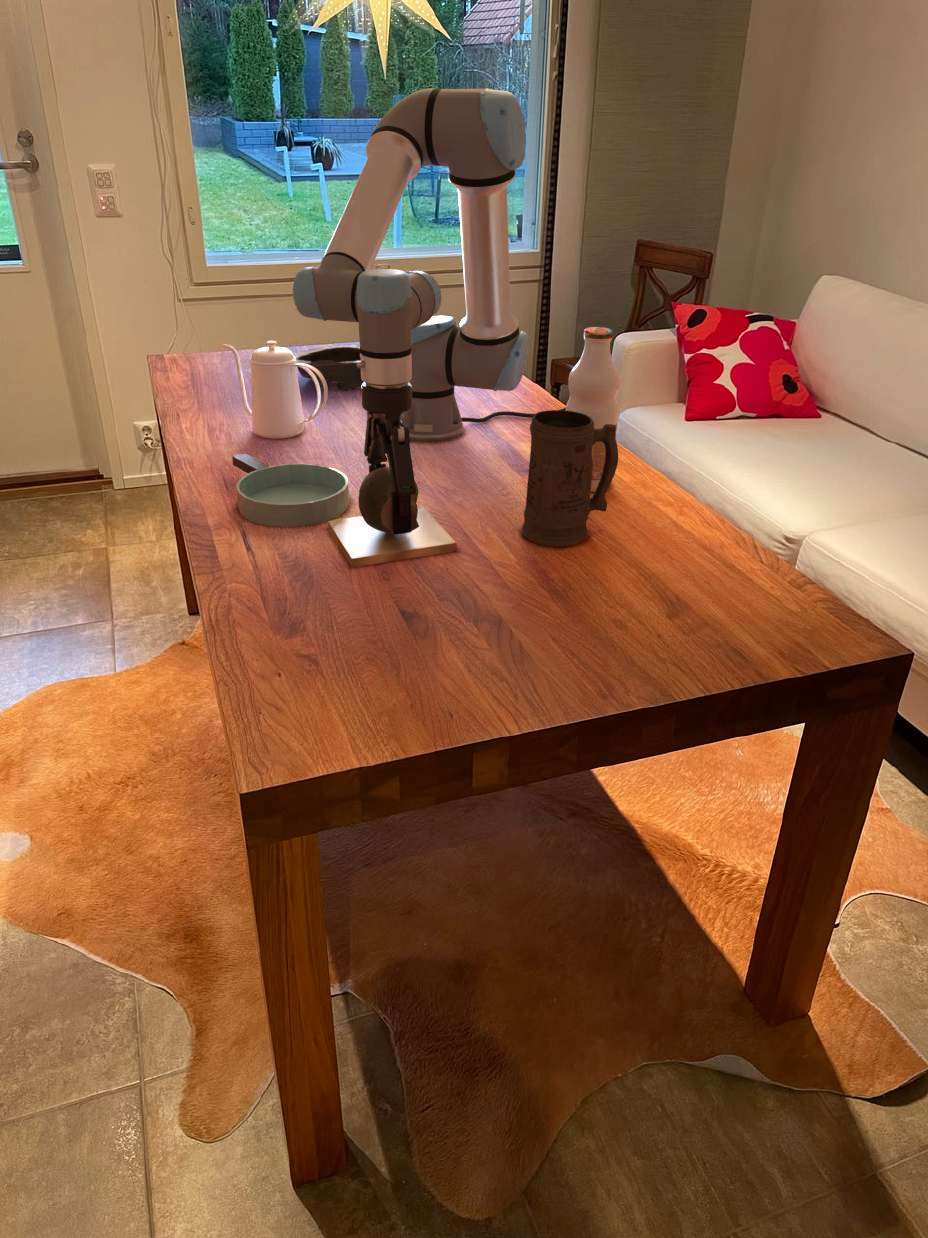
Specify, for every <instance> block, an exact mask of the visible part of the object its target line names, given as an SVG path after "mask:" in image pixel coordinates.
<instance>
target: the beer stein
mask: <svg viewBox="0 0 928 1238" xmlns="http://www.w3.org/2000/svg"><path fill="white" fill-rule="evenodd" d="M533 414H534V415H533V417H532V418H531V422H530V425H529V431H530V436H531V437H530V453H529V464H528V475H527V484H526V485H527V486H526V496H525V497H526V498H525V508H524V510H523V524H522V528H521V533H522V535H523V536H524V537H525V538H526V539H527V540H528V541H531V542H532V543H535V544H538V545H541V546H546V547H553V548H554V547H555V548H561V547H562V548H563V547H572V546H576V545H578V544H582V543H583V542H584V541H585V540H586V539H587V537H588V527H587V522H588V519H589V515H590V513H591V512H593V511H598V512H603V513H604V512H607V509H608V501H607V500H606V493H607V492H608V489H609V487H610V485H611V483H612V482H613V479H614V477H615V475H616V472H617V469H618V464H619V449H618V443H617V439H616V438H617V437H616V436H617V435H616V436H615V432H616V433H617V429H616V425H613V424H605V425H604V426H603V428H601V429H597V430H595V429H594V421H593V419H592V418H591V417H589V416H588V415H585V414H583V413H578V412H574V411H563V410H560V409H551V410H542V411H537V412H536V414H535V413H533ZM600 441H601V442H603V443H604V445H605V449H606V451H605V463H604V468H603V472H602V475H601V478H600V481H599V484H598V486H597V488H596V491H595V492H593V495H592V496H591V481H592V469H593V462H592V446H593V445H594V444H595V443H596V442H600Z"/></svg>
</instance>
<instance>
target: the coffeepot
mask: <svg viewBox="0 0 928 1238" xmlns="http://www.w3.org/2000/svg"><path fill="white" fill-rule="evenodd" d="M277 344H278V342H277V340H268V341H267V340H266V342H265V345H266V346H264V347H260V348H257V349H255V350H254V351H253V352H252V353H251V357H250V358H249V360H248V361H249V364H250V388H251V394H250V395H251V408H250V406H249V402H248V398H247V392H246V387H245V381H244V374H243V370H242V369H243V368H242V364H241V358H240V355H239V353H238V350H236V348H234V346H232V345H230V344H226V343H222V344H220V345H218V346H217V347H218V348H222V349H227V350H229V351H230V352H231V353H232V354H233V356H234V358H235V363H236V369H237V370H236V371H237V374H238V375H237V376H238V381H239V387H240V392H241V399H242V403H243V407H244V410H245V411H246V413H247V414H248V415H250V416H251V427H252V431H253V433H254V434H255V435H257V436H259V437H262V438H266V439H275V440H277V439H288V438H293V437H296V436H298V435H300V434H301V433H302V432H303V431H304V430H305V427H306V423H307V422H309V421H311V420H313V419H315V418H316V417H317V416H318V415H320V413H321V412H322V411H323V410H324V408H325V407H326V403H327V400H328V397H329V396H328V394H329V390H328V384H327V381H326V380H325V379H324V377H323V375H322V374H321V373H320V372H319V370H317V369H316V368H315V367H313V366H310V365H308V364H303V363H297V364H296V357H295V356H293V353H294V352H292V351H291V350H290V349H289V348H286V347H282V346H277ZM297 366H298V367H301V368H302V369H304V370H305V371H306V372H308V374H309V375H310V376H311V377H312V379H311V380H312V382H314V386H315V389H316V404H315V407H314V410H313V411H312V413H311V415H310V416H309V417H308V418H306V419H305V416H304V409H303V404H302V403H303V402H302V396H301V390H300V385H299V383H300V382H299V377H298V371H297V370H298V369H297ZM310 369H311V370H313V371H314V372H315V373H316V374H317V375H318V376H319V378H320V379H321V380H320V382H321V384H322V386H323V400H322V394H321V387H320V382H319V380H317V378H316V376H315V375H314V373H313V372H312V371H311V370H310ZM321 400H322V403H321ZM320 405H321V406H320Z"/></svg>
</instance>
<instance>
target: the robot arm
mask: <svg viewBox="0 0 928 1238" xmlns="http://www.w3.org/2000/svg"><path fill="white" fill-rule="evenodd" d="M526 136H527V134H526V125H525V118H524V114H523V109H522V106H521V104H520V102H519V100H518V99H517V97H516V96H515V95H514V94H513V93H512V92H510V91H508V90H499V89H492V88H489V87H486V88H437V87H434V88H433V87H430V88H424V89H423V88H422V89H419V90H416V91H415V92H413V93H410V94H408V95H406V96H405V97H403V98H402V99H400V100H399V101H397V103H396V104H394V105H393V106H392V107H391V108H390V109H389V110H388V111H387V112H386V113H385V114H384V115H383V116H382V117H381V119H380V120H379V121H378V122H377V124H376V126H375V127H374V129H373V130H372V132H371V135H370V136H369V139H368V140H367V143H366V146H365V154H366V161H365V162H364V165H363V168H362V169H361V172H360V174H359V177H358V178H357V181H356V183H355V185H354V188H353V190H352V192H351V194H350V197H349V199H348V201H347V203H346V205H345V208H344V210H343V212H342V214H341V216H340V219H339V220H338V223H337V225H336V227H335V230H334V232H333V234H332V237H331V239H330V241H329V243H328V246H327V248H326V249H325V252H324V254H323V257H322V259H321V260H320V263H319V265H318V266H317V267H315V266H309V267H308V266H307V267H303V268H301V269H299V270H298V271H297V273H296V274H295V277H294V279H293V286H292V298H293V302H294V305H295V307H296V310H297V312H298V313H299V314H300V315H301V316H302V317H305V318H309V319H315V320H320V321H324V322H327V321H334V322H344V323H345V322H347V323H358V336H359V337H358V339H359V345H360V357H361V361H359V362H357V367H358V368H361V379H362V380H363V381H364V382H363V384H362V385H361V387H360V396H361V397H360V398H361V407H362V409H363V410H365V411H366V425H365V438H364V448H363V449H364V450H363V454H364V457H367V458H366V462H367V463H368V474H369V473H371V472H372V471H373V470H372V469H373V467H374V465H376V467H377V469H379V468H382V467H387V464H386V463H388V467H389V468H390V473H391V478H392V483H393V488H394V491H393V492H391V493H390V496H391V497H392V510H393V533H394V535H396V534H403V533H410V532H411V495H414V494H416V487H415V482H416V480H415V471H414V466H413V456H412V451H411V442H419V443H436V442H445V441H449V440H452V439H455V438H458V437H459V436H461V435H462V433H463V431H464V430H463V425H464V424H463V423H476V424H477V423H479V424H480V423H485V422H487V421H489V420H492V419H493V418H496V417H502V416H511V417H518V418H525V419H526V418H529V419H532V417H533V415H534V414H536V413H537V412H536V413H528V412H519V411H511V410H510V411H509V410H500V411H495V412H492V413H489V414H488V415H486V416H483V417H479V418H477V417H464V416H463V417H462V416H461V412H460V409H459V406H458V403H457V400H456V397H455V387H460V388H461V387H462V388H470V389H479V390H490V391H493V392H498V391H501V392H512V391H514V390H515V389H517V387H518V386H519V385H520V383H521V381H522V379H523V375H524V373H525V369H526V366H527V361H528V356H529V349H530V336H529V334H528V333H527V332H526V331H524V330H521V331H520V322H519V319H518V317H517V315H514V314H513V313H512V310H511V309H512V308H511V281H510V280H511V279H510V278H511V277H510V248H509V247H510V246H509V245H510V244H509V217H508V215H509V213H508V211H509V210H508V186H509V185H510V184H511V182H513V180H514V179H515V177H516V170H518V169H520V168H521V167H522V165H523V164H524V160H525V156H526V147H525V145H526V143H527V137H526ZM427 166H434V167H447V175H448V182H449V183H450V184H451V185H452V186H453V187H454V188H455V189H457V194H458V207H459V222H460V223H459V224H460V236H461V237H460V238H461V251H462V252H461V254H462V265H463V266H462V268H463V270H462V271H463V281H464V282H463V285H464V294H465V295H464V297H465V298H464V299H465V311H466V312H465V313H466V315H465V317H463V318H462V319H461V321H460V322H459V326H457V321H456V319H455V317H453V316H449V315H436V314H437V313H438V311H439V309H440V307H441V304H442V299H443V298H442V296H443V295H442V291H441V287H440V285H439V283H438V282H437V280H436V279H435V278H434V277H433V276H432V275H431V274H429V273H427V272H425V271H422V270H421V271H420V270H414V271H411V270H410V271H407V272H406V271H404V270H401V269H394V268H374V269H372V268H373V265H374V263H375V260H376V259H377V257H378V254H379V252H380V249H381V247H382V245H383V242H384V239H385V237H386V235H387V232H388V230H389V227H390V225H391V223H392V220H393V218H394V216H395V213H396V211H397V209H398V206H399V204H400V202H401V199H402V197H403V195H404V193H405V190H406V187H407V185H408V183H409V182H411V181H413V180H414V179H416V177H417V176H418V174H419V173H420V171H421V168H424V167H427ZM559 410H563V411H566V406H564V407H563V408H559ZM410 441H411V442H410ZM405 486H406V487H405Z"/></svg>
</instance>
